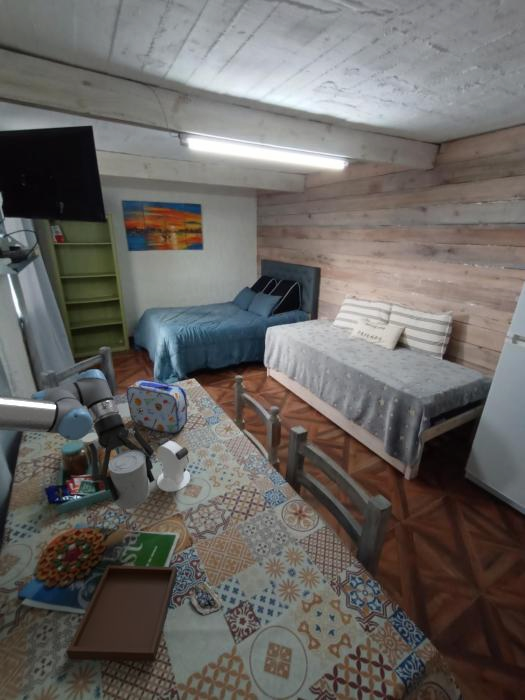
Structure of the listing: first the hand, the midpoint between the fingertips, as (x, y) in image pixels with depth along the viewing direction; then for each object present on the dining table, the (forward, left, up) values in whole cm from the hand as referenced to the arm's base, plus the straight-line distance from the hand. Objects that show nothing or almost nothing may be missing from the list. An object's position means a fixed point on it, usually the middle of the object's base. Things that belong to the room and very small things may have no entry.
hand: (135, 490), depth 88 cm
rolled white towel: (-3, 0, -4) cm, 5 cm away
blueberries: (+29, +1, -15) cm, 33 cm away
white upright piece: (-10, +18, -15) cm, 25 cm away
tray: (+18, -13, -15) cm, 27 cm away
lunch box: (-43, +33, -15) cm, 56 cm away
